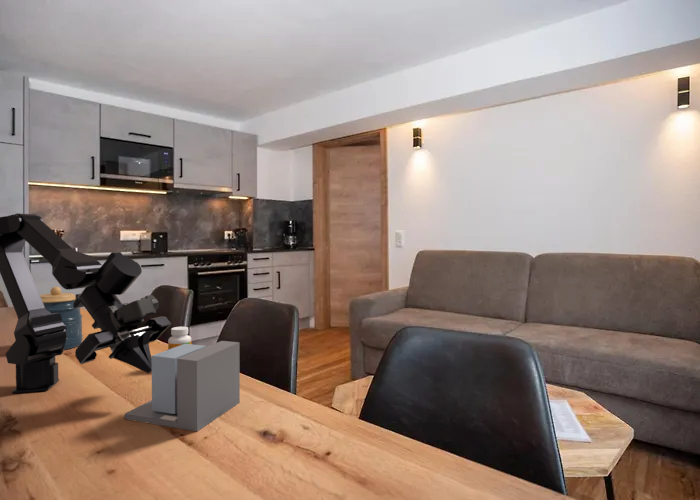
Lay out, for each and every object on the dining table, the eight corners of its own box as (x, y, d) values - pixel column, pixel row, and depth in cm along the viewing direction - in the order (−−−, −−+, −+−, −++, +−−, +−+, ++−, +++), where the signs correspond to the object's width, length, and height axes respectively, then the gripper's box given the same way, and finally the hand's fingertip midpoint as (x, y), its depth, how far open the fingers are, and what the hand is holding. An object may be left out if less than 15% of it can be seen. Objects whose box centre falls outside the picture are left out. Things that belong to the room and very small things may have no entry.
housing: (124, 419, 76) (123, 352, 76) (174, 393, 88) (174, 336, 88) (197, 431, 71) (196, 360, 71) (239, 402, 84) (239, 342, 83)
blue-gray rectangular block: (152, 410, 77) (151, 355, 76) (185, 393, 85) (185, 343, 85) (174, 414, 75) (174, 358, 75) (206, 396, 84) (206, 345, 83)
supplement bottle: (183, 370, 103) (183, 331, 103) (163, 369, 104) (163, 329, 104) (195, 364, 109) (195, 326, 108) (176, 362, 110) (176, 325, 109)
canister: (83, 348, 123) (82, 287, 122) (27, 355, 116) (26, 290, 115) (81, 339, 134) (81, 283, 133) (30, 344, 126) (29, 285, 126)
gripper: (87, 289, 74) (137, 358, 71) (164, 278, 92) (207, 334, 89) (53, 329, 77) (101, 398, 74) (134, 312, 94) (175, 366, 92)
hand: (151, 371), depth 82 cm, fingers closed
